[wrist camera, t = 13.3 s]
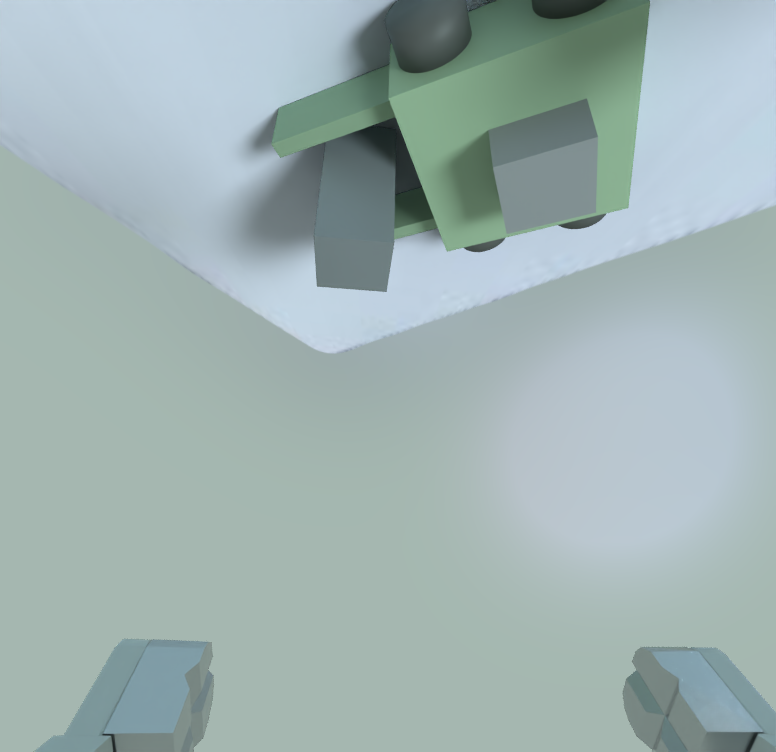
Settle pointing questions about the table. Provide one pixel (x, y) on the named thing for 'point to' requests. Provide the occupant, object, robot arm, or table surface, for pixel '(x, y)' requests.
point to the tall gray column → (356, 211)
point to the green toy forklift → (497, 113)
